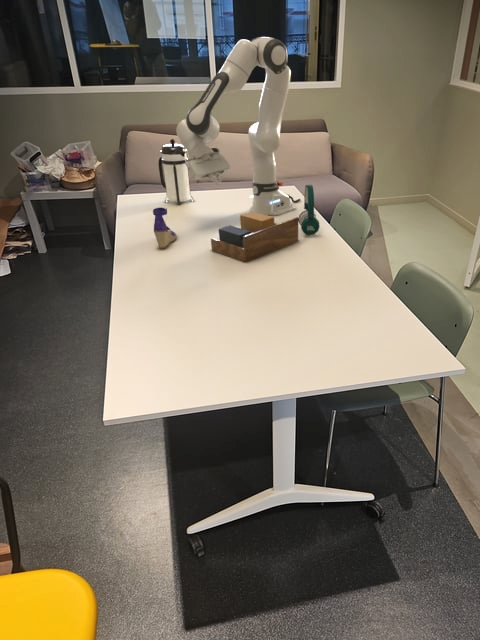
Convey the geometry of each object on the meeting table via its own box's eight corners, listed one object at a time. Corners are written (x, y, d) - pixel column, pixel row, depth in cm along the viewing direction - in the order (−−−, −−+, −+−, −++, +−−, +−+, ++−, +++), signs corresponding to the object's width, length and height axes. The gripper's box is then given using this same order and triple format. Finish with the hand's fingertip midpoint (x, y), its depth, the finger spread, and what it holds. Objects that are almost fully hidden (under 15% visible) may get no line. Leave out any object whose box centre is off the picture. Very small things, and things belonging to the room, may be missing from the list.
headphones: (315, 226, 232) (316, 180, 220) (319, 237, 220) (321, 189, 208) (297, 226, 231) (298, 181, 220) (301, 237, 219) (301, 189, 208)
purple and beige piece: (181, 234, 222) (176, 199, 214) (167, 250, 206) (162, 213, 198) (163, 233, 223) (158, 198, 214) (148, 249, 207) (142, 212, 198)
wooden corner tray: (211, 250, 206) (209, 226, 200) (264, 231, 226) (264, 208, 220) (245, 262, 195) (244, 236, 190) (298, 241, 215) (298, 217, 210)
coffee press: (195, 196, 273) (189, 136, 255) (192, 205, 260) (185, 141, 242) (163, 197, 272) (154, 136, 255) (158, 205, 259) (149, 141, 242)
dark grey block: (218, 246, 209) (216, 228, 205) (230, 242, 214) (229, 224, 209) (252, 258, 199) (251, 239, 195) (264, 253, 203) (263, 234, 199)
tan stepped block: (239, 237, 219) (237, 214, 213) (252, 233, 223) (251, 210, 218) (272, 248, 208) (272, 224, 202) (285, 243, 213) (285, 219, 207)
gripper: (185, 155, 211) (203, 183, 211) (221, 147, 223) (238, 174, 224) (180, 165, 216) (198, 192, 216) (215, 157, 228) (232, 183, 229)
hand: (218, 183), depth 220 cm, fingers closed
